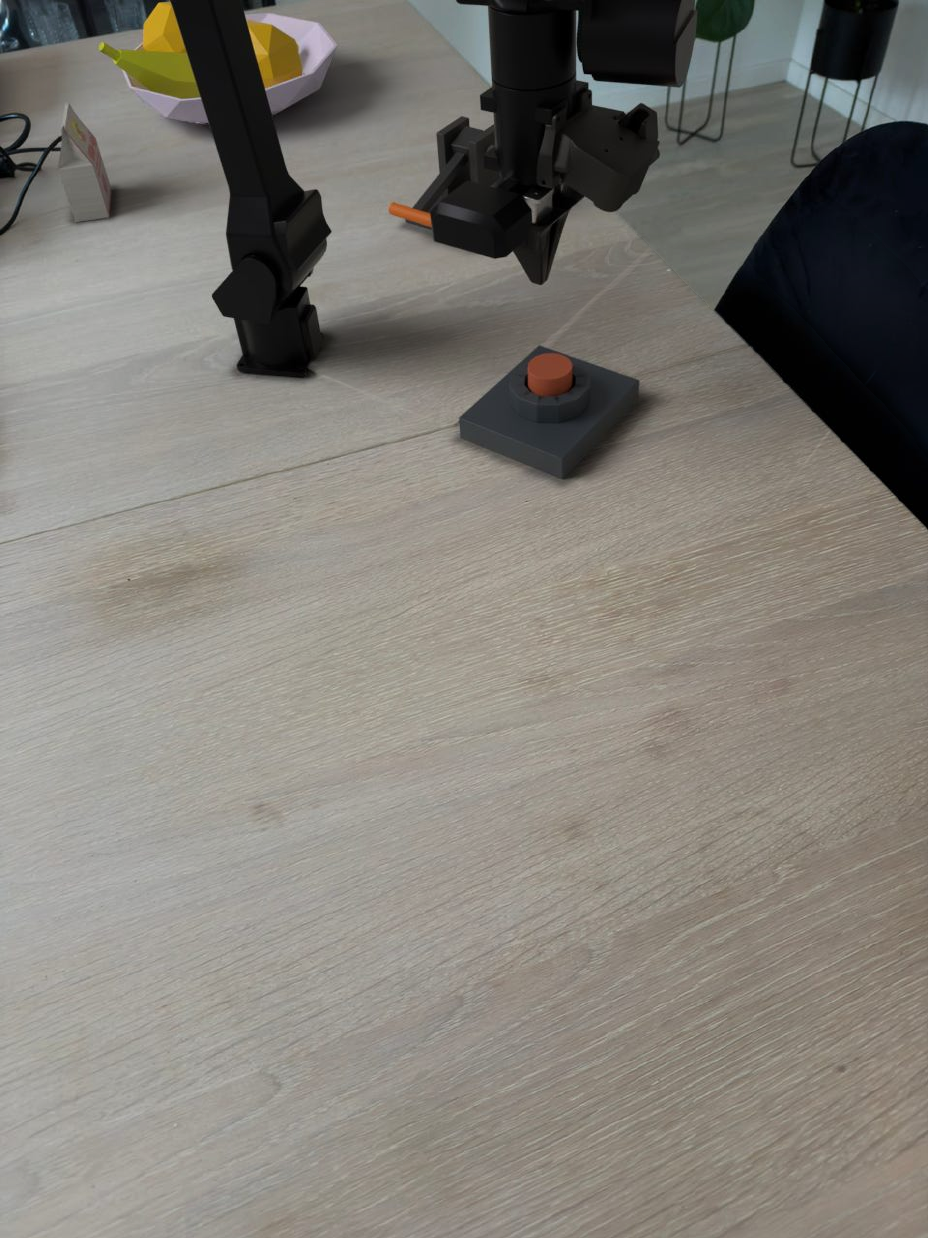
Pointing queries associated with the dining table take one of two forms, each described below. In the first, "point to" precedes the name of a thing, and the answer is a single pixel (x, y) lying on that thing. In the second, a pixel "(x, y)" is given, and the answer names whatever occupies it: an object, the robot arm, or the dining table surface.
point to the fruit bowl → (279, 49)
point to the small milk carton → (82, 170)
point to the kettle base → (476, 151)
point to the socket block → (549, 416)
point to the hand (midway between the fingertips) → (539, 281)
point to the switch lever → (438, 181)
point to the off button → (550, 374)
